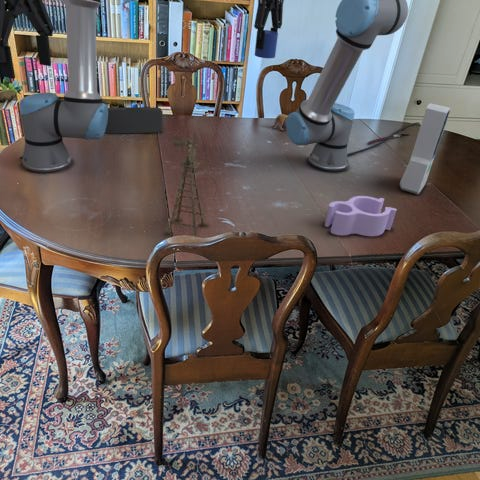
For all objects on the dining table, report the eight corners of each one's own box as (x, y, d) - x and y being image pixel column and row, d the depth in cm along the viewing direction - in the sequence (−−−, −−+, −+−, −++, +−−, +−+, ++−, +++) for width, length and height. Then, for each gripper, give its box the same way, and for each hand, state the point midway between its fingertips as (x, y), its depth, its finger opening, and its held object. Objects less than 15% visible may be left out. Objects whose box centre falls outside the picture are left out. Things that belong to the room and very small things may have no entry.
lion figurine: (298, 126, 216) (301, 107, 212) (303, 130, 212) (306, 111, 207) (269, 127, 212) (271, 107, 207) (273, 131, 207) (276, 111, 203)
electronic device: (417, 196, 165) (445, 112, 149) (397, 189, 168) (422, 107, 152) (426, 184, 174) (453, 104, 158) (406, 178, 177) (431, 99, 161)
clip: (337, 240, 135) (342, 219, 131) (318, 218, 145) (322, 198, 141) (395, 233, 141) (402, 213, 137) (373, 213, 151) (378, 194, 147)
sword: (406, 132, 223) (406, 130, 222) (411, 134, 221) (412, 132, 220) (362, 144, 207) (363, 141, 206) (368, 146, 205) (368, 143, 204)
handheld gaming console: (161, 130, 196) (161, 106, 191) (162, 132, 194) (162, 108, 189) (105, 131, 189) (103, 107, 184) (105, 134, 187) (104, 109, 181)
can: (271, 59, 174) (274, 34, 169) (251, 55, 176) (254, 31, 171) (277, 56, 180) (280, 32, 176) (258, 52, 182) (260, 29, 178)
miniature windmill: (195, 240, 128) (201, 135, 112) (166, 234, 129) (167, 130, 113) (204, 224, 136) (210, 124, 119) (176, 219, 137) (178, 119, 120)
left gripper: (-15, -33, 85) (6, 86, 96) (62, -35, 105) (72, 62, 117) (-50, -37, 86) (-25, 80, 97) (33, -39, 107) (45, 58, 118)
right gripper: (280, -23, 173) (272, 43, 186) (248, -23, 159) (241, 48, 171) (297, -20, 170) (288, 46, 182) (266, -20, 155) (258, 52, 167)
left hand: (28, 71), depth 107 cm, fingers open, 13 cm apart
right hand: (265, 47), depth 177 cm, fingers closed on can, 8 cm apart
